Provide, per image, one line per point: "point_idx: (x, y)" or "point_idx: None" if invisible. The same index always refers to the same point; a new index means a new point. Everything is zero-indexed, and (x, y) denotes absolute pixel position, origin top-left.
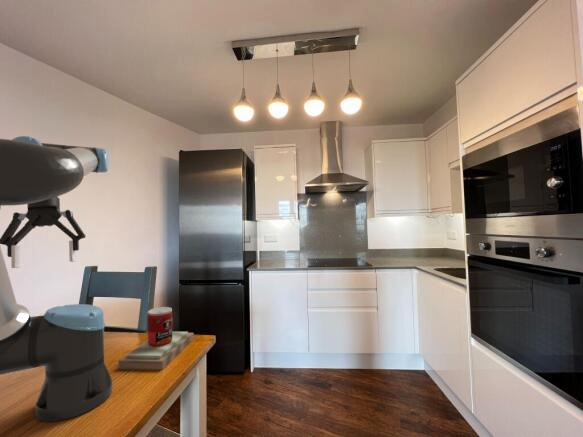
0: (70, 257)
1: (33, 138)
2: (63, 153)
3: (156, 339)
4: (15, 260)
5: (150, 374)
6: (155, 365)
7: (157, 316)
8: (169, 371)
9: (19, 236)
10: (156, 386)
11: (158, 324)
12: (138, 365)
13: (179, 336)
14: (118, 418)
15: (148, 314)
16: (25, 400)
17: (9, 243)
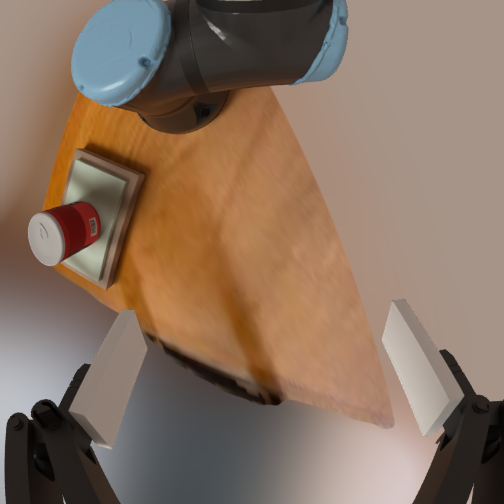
0: (121, 324)
1: None
2: None
3: (77, 202)
4: (406, 331)
5: (97, 138)
6: (88, 152)
7: (46, 211)
8: (75, 140)
9: (449, 467)
10: (88, 100)
11: (56, 207)
12: (111, 161)
13: None
14: None
15: (60, 227)
16: (260, 118)
17: (479, 404)
